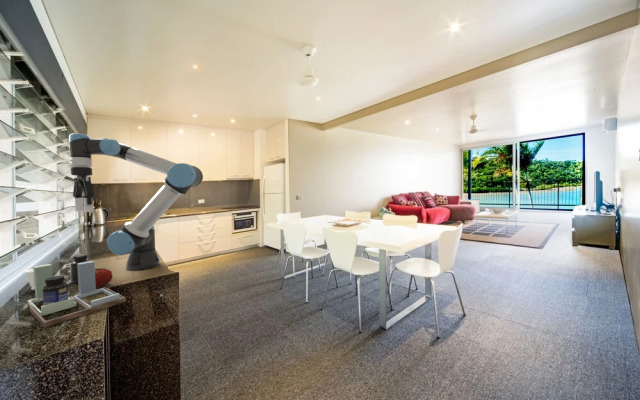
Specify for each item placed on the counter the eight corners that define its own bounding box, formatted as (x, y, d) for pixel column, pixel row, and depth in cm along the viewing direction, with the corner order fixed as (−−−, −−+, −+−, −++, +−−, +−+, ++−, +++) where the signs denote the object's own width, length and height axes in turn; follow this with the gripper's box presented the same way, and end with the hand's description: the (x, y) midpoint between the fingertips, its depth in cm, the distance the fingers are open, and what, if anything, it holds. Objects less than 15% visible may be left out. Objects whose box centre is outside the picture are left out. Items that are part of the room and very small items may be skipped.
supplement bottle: (85, 283, 117) (83, 256, 116) (67, 284, 115) (65, 258, 114) (94, 278, 123) (93, 253, 123) (77, 279, 122) (75, 254, 121)
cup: (22, 292, 107) (21, 273, 107) (33, 284, 116) (32, 267, 115) (46, 288, 110) (44, 270, 110) (55, 281, 119) (54, 264, 119)
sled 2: (100, 289, 107) (98, 259, 107) (121, 301, 96) (119, 267, 95) (71, 297, 100) (69, 264, 99) (90, 310, 88) (87, 273, 88)
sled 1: (60, 293, 104) (58, 262, 104) (76, 305, 93) (74, 270, 92) (26, 302, 97) (24, 268, 96) (40, 316, 85) (37, 278, 84)
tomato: (94, 283, 116) (93, 266, 115) (117, 281, 118) (116, 264, 117) (79, 291, 107) (78, 272, 106) (105, 289, 108) (104, 270, 108)
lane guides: (105, 290, 107) (104, 286, 107) (125, 301, 96) (125, 297, 96) (29, 311, 90) (29, 306, 90) (44, 327, 78) (43, 322, 78)
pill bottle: (63, 310, 90) (61, 279, 89) (39, 314, 87) (37, 282, 87) (72, 303, 95) (70, 273, 95) (50, 306, 93) (48, 276, 92)
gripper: (62, 168, 127) (65, 211, 128) (79, 164, 113) (82, 213, 114) (82, 169, 133) (85, 210, 134) (101, 165, 120) (103, 211, 121)
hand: (84, 211), depth 124 cm, fingers open, 13 cm apart
